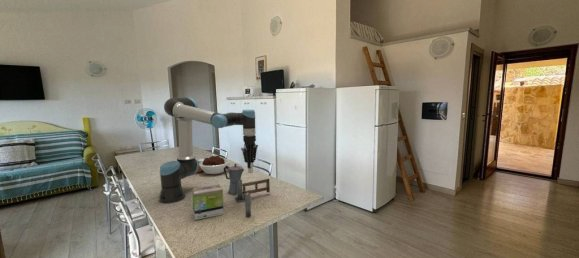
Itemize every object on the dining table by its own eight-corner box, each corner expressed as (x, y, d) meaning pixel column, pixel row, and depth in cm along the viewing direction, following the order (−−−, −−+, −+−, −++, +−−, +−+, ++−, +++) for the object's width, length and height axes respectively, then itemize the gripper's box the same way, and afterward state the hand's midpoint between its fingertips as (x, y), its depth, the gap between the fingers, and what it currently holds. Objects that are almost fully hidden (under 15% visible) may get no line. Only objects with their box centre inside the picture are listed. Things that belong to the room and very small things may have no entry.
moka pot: (242, 195, 163) (241, 166, 160) (221, 194, 166) (219, 165, 163) (247, 190, 172) (246, 162, 170) (227, 189, 175) (226, 161, 173)
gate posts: (243, 218, 133) (242, 195, 131) (234, 199, 157) (233, 179, 156) (254, 216, 135) (253, 193, 133) (244, 197, 160) (243, 178, 158)
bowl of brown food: (210, 167, 229) (209, 151, 227) (234, 169, 223) (234, 153, 221) (193, 176, 205) (192, 158, 203) (220, 178, 199) (219, 160, 197)
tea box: (195, 221, 130) (193, 194, 128) (193, 213, 139) (191, 188, 137) (224, 214, 137) (222, 189, 135) (220, 207, 146) (218, 183, 144)
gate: (269, 192, 165) (269, 179, 163) (243, 197, 156) (243, 184, 155) (268, 191, 166) (268, 178, 165) (242, 196, 157) (242, 183, 156)
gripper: (246, 137, 142) (248, 176, 145) (261, 134, 153) (261, 170, 156) (237, 136, 146) (238, 174, 149) (251, 133, 157) (252, 169, 160)
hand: (250, 172), depth 153 cm, fingers closed
